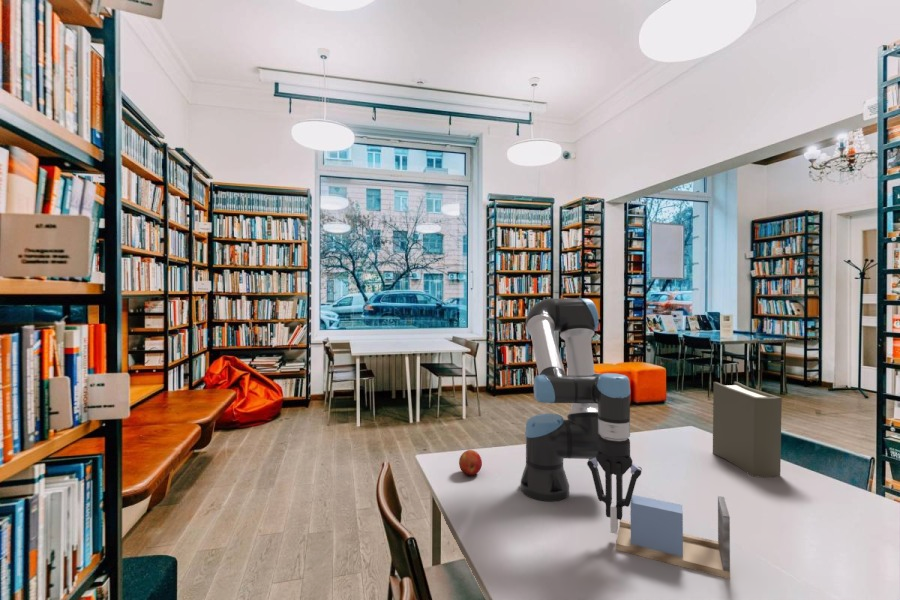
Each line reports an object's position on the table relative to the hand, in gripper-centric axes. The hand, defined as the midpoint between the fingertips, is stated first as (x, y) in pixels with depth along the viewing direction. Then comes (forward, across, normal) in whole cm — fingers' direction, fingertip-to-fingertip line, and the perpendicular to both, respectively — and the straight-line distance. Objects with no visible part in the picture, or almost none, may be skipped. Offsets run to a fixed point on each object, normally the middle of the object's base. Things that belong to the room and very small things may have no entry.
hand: (614, 530), depth 103 cm
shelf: (+3, +12, +2) cm, 13 cm away
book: (+2, +36, +72) cm, 81 cm away
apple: (+3, -49, +19) cm, 53 cm away
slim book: (+1, +10, 0) cm, 10 cm away
